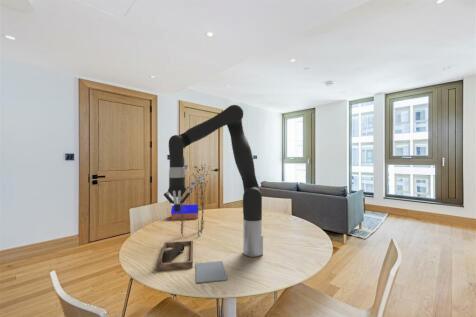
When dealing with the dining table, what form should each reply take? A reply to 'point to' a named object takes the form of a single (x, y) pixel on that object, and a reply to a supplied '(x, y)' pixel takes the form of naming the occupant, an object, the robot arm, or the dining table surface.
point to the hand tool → (172, 252)
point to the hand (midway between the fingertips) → (177, 211)
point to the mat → (210, 272)
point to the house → (185, 212)
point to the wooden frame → (175, 264)
